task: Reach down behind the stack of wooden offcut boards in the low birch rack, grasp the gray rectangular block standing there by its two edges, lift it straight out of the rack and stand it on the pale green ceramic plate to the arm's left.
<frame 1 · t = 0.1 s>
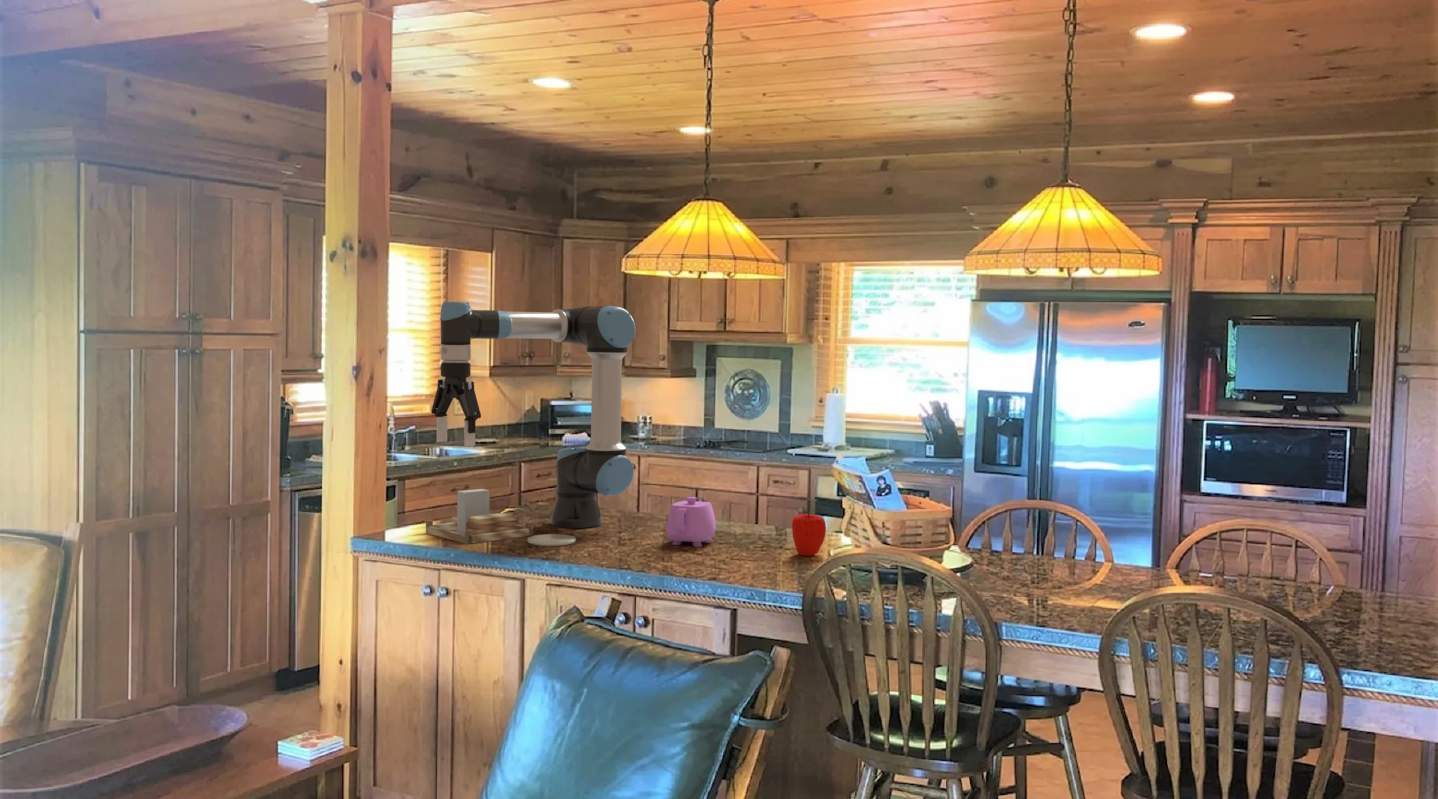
hand: (455, 444, 297), 28 cm above the kitchen island, fingers open, 13 cm apart
apple: (808, 555, 301), on the kitchen island
gray rectangular block: (473, 532, 326), resting in rack
offcut stack: (492, 537, 319), resting in rack
rack: (479, 534, 324), on the kitchen island
plate: (551, 541, 315), on the kitchen island
teapot: (691, 543, 315), on the kitchen island
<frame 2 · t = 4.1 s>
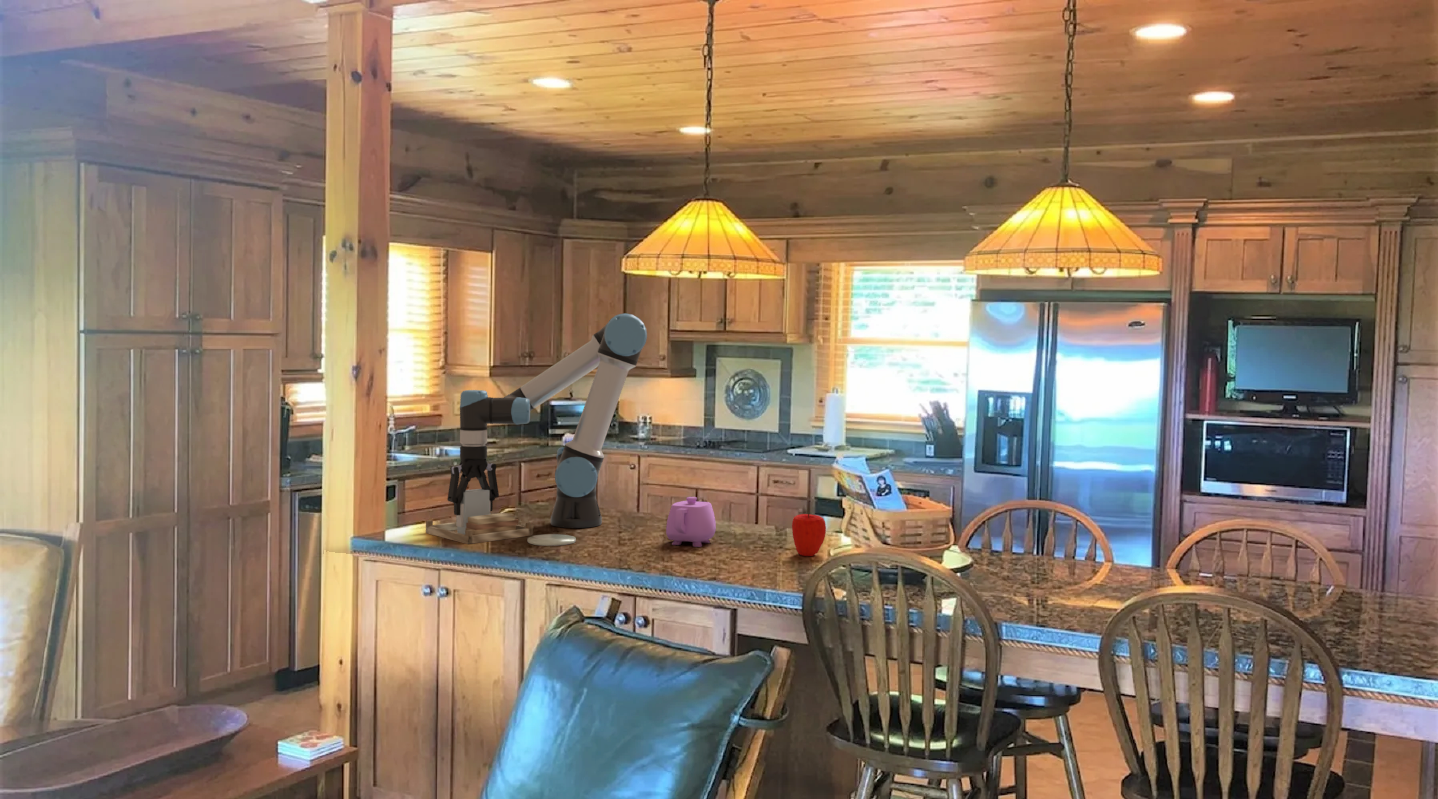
hand: (473, 524, 326), 2 cm above the kitchen island, fingers closed on gray rectangular block, 8 cm apart
gray rectangular block: (473, 532, 326), resting in rack, touching gripper
everything else where it was.
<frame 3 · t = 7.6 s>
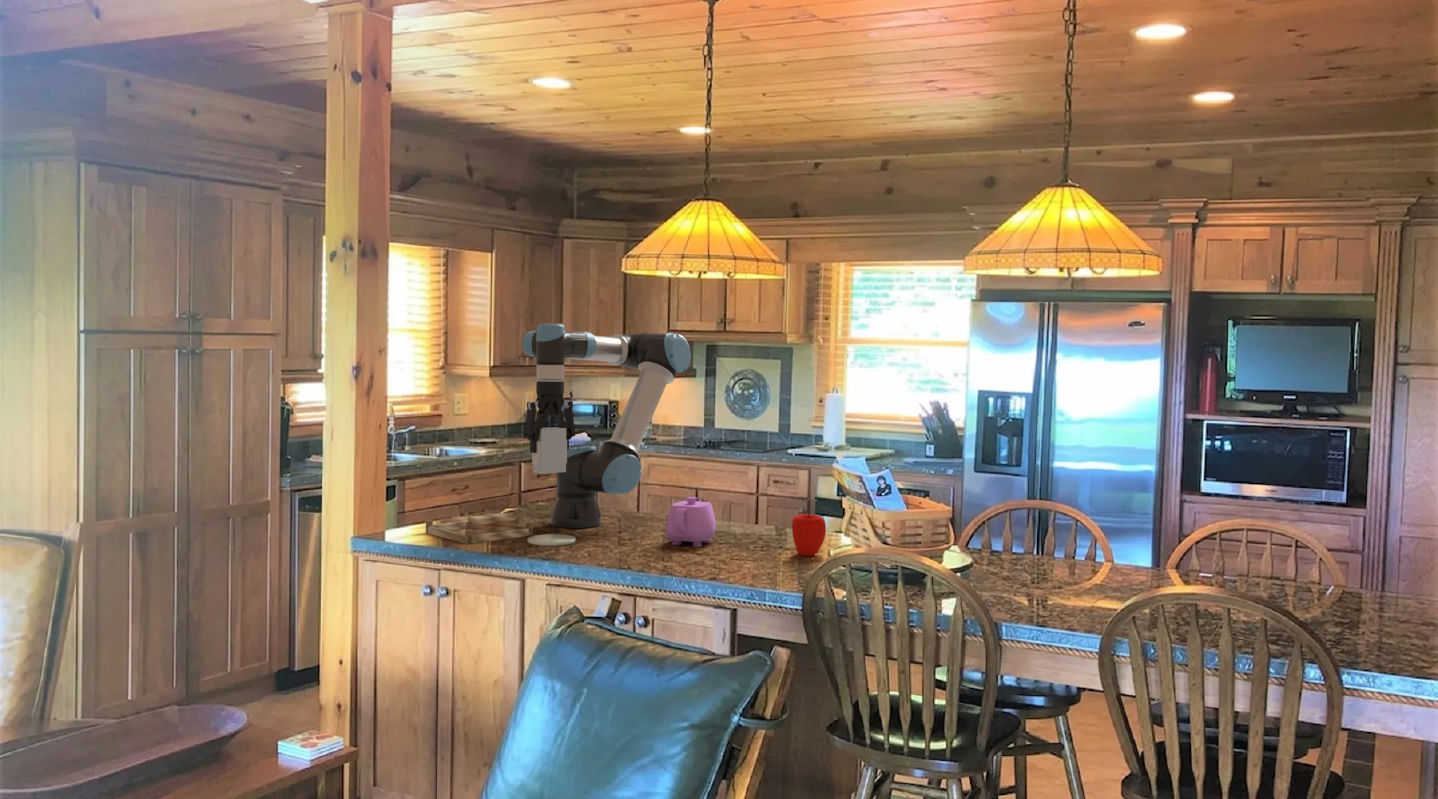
hand: (549, 463, 313), 21 cm above the kitchen island, fingers closed on gray rectangular block, 8 cm apart
gray rectangular block: (549, 472, 314), point 19 cm above the kitchen island, touching gripper
everything else where it was.
when the fingers open (4 cm above the kitchen island, at t = 11.4 s): gray rectangular block stays where it is, resting on plate.
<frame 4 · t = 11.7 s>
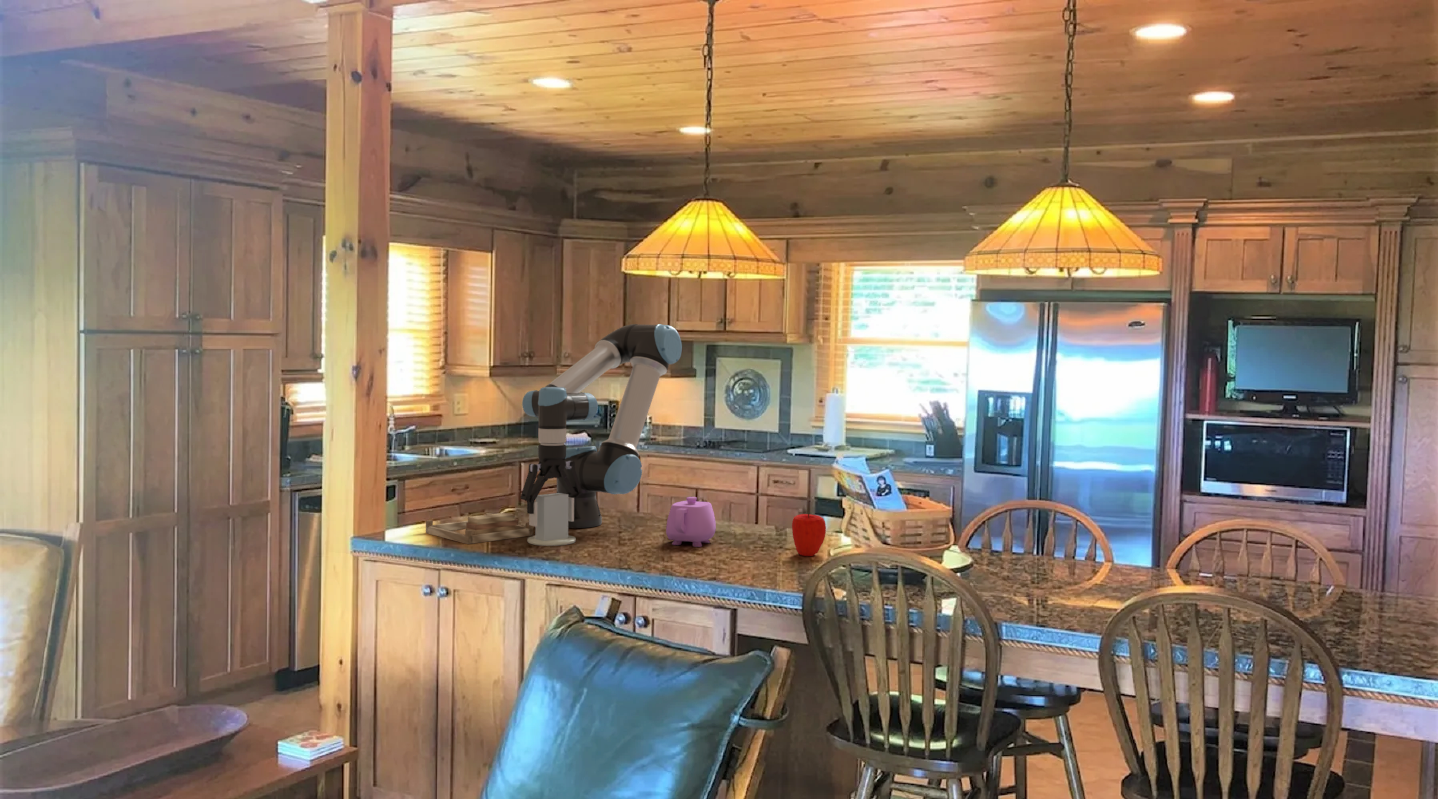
hand: (551, 523, 314), 5 cm above the kitchen island, fingers open, 11 cm apart
gray rectangular block: (551, 538, 315), point 1 cm above the kitchen island, touching plate
everything else where it was.
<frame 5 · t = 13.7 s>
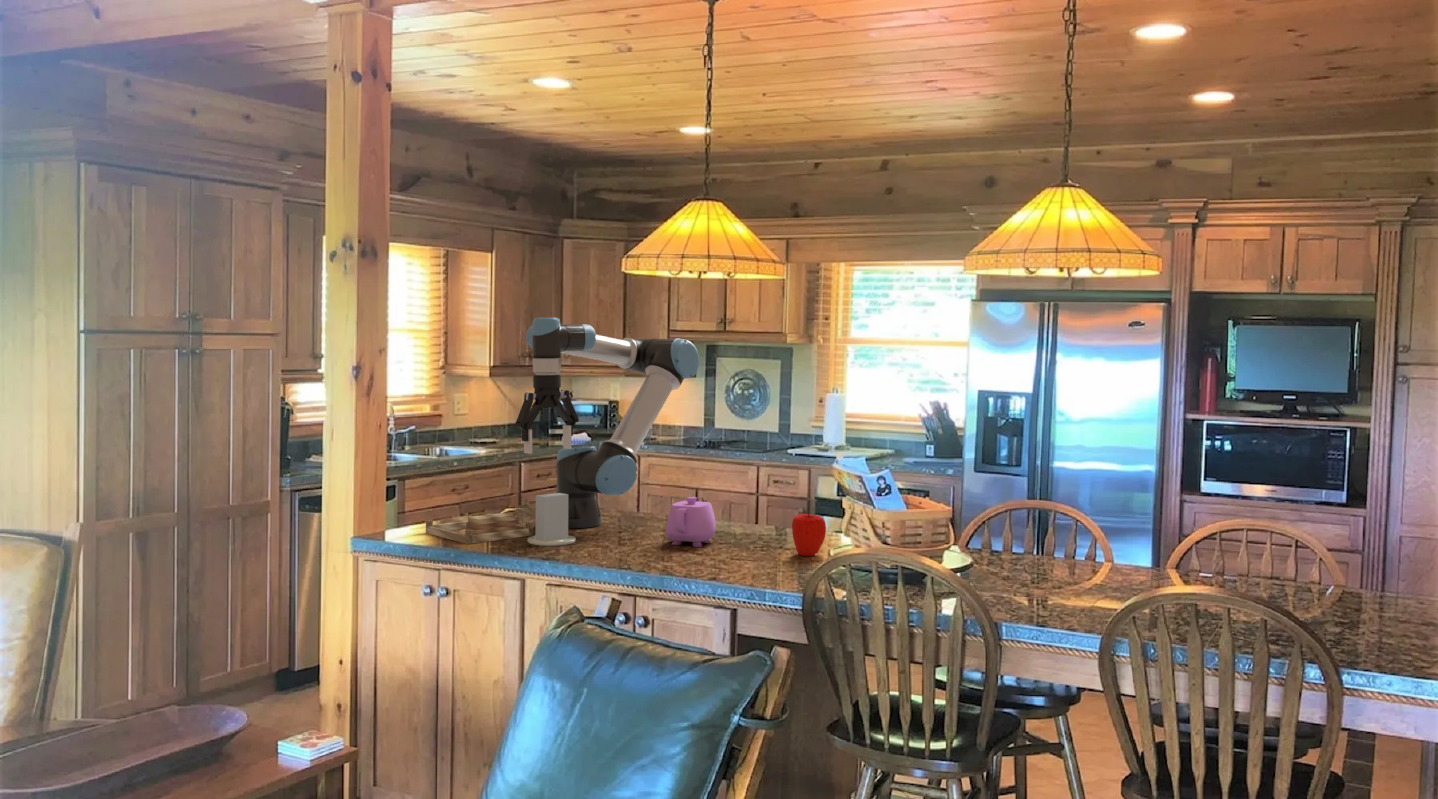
hand: (548, 451, 316), 24 cm above the kitchen island, fingers open, 13 cm apart
nothing on the kitchen island moved.
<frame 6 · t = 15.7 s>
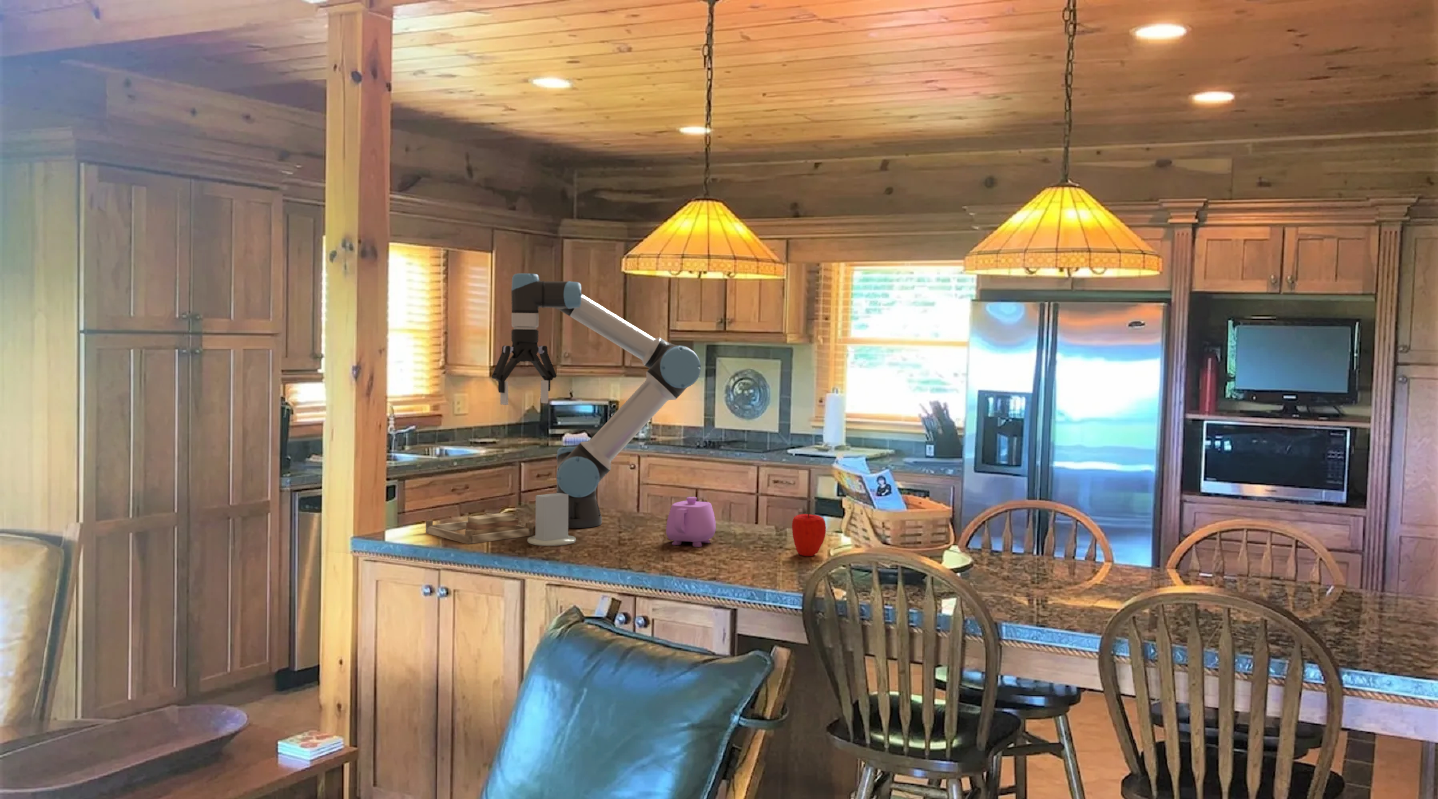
hand: (524, 403, 325), 37 cm above the kitchen island, fingers open, 13 cm apart
nothing on the kitchen island moved.
at the end: gray rectangular block 0.1 cm from the plate (horizontally); gray rectangular block tilted 0°; the gripper is holding nothing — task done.
